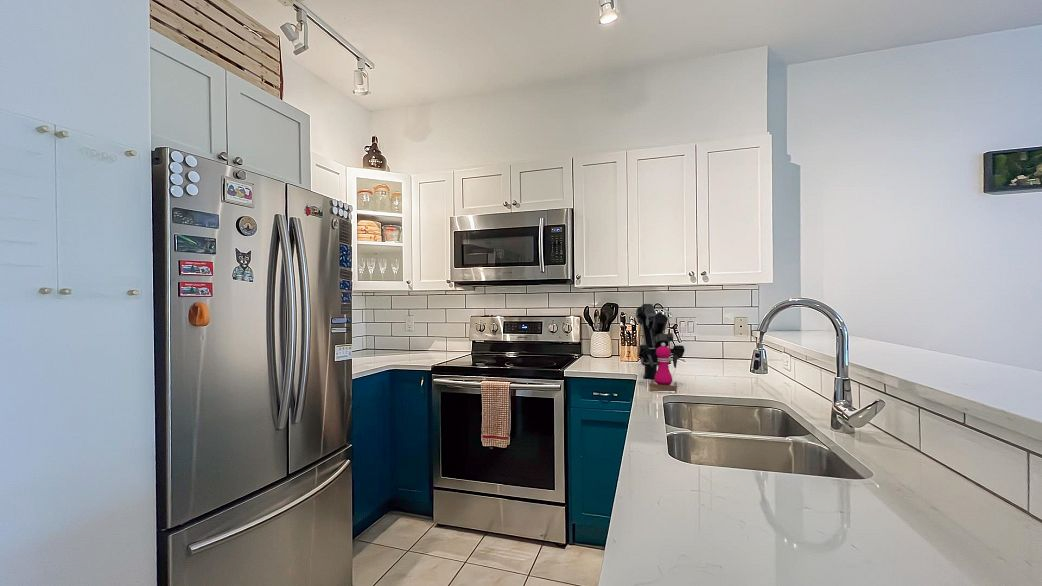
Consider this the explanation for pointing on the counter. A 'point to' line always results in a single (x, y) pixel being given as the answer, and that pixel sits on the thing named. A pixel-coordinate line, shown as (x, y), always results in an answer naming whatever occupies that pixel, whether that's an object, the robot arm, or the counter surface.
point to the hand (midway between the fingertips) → (664, 367)
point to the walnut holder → (662, 387)
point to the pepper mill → (663, 366)
